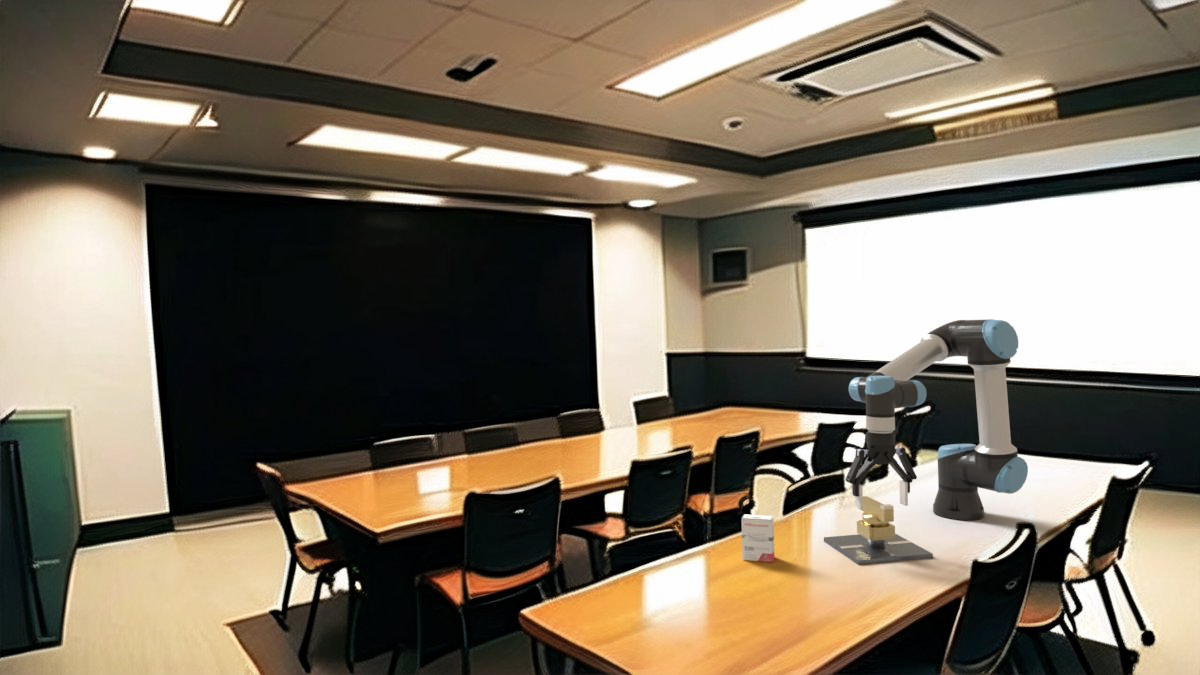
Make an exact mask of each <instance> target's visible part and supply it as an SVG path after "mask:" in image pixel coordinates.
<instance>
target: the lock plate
mask: <svg viewBox="0 0 1200 675" xmlns="http://www.w3.org/2000/svg"><path fill="white" fill-rule="evenodd" d="M870 527H871V526H870ZM823 542H824V543H825V544H828V545H829V546H830V547H832V548H833V549H834V550H836V551H838V552H839V553H840V554H842V555H843V556H845V557H847V558H848V559H849V560H851V561H852V562H854V563H855V564H857V565H858V566H860V565H871V564H880V563H883V564H884V563H889V562H892V563H893V562H894V563H895V562H903V561H904V562H905V561H916V560H925V559H933V558H934V553H933V552H930V551H929V550H927V549H925V548H923V547H921V546H919V545H918V544H916V543H913V541H910V540H908V539H906V538H904V537H903V536H900V534H897V533H895V538H893V539H887V540H875V541H874V540H868V539H866V538H865V537H863V536H861V535H860V534H858V533H857V534H847V535H846V534H845V535H837V536H836V535H835V536H824V537H823Z"/></svg>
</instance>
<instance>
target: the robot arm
mask: <svg viewBox="0 0 1200 675" xmlns="http://www.w3.org/2000/svg"><path fill="white" fill-rule="evenodd" d="M1018 349H1019V338H1018V334H1017V330H1016V329H1015V328H1014V326H1012V325H1011V324H1010V323H1009V322H1008V321H1006V320H1003V319H1001V320H999V319H993V318H992V319H990V318H989V319H970V320H969V319H958V320H954V321H950V322H948V323H945V324H943V325H941V326H939V327H936V328H935V329H933V330H931V331H929V332H928V333H927V334H925V335H923V336H922V337H921V339H920V342H919V343H917V344H915V345H914V346H913V347H911V348H910V349H908V350H906V351H904V352H903V353H902V354H900V355H899V356H897V357H896V358H894V359H893V360H891V361H890V362H887V363H886V364H885V365H883V366H882V367H880V368H878V369H877V370H876V371H874V372H872V373H871V374H869V375H868V376H866V377H865V376H858V377H854V378H853V379H852V380H850V382H849V385H848V393H849V396H850V398H851V399H853V400H854V401H856V402H861V403H865V419H866V420H865V429H866V430H867V431H866V432H865V435H866V436H865V440H866V441H865V442H866V449H861V448H856V450H855V457H854V458H853V461H852V463H851V465H850V467H849V470H848V472H847V474H846V477H845V482H847V483H849V484H851V485H852V486H851V487H852V489H851V490H852V493H851V494H852V496H853V497H854V503H855V504H854V505H855V508H857V509H858V508H859V509H858V510H860V509H863V494H864V493H863V492H864V491H863V489H864V488H863V485H862V484H861V483H862V482H863V481H864V479H865V478H866V476H867V475H868V474H869V472H870V471H871V470H872V468H874V467H875V466H876V465H877V466H880V465H890V466H891V468H892V469H893V470H894V471H895V473H896V474H897V475H898V476H899V477H900V478H901V479H902V480H899V504H901V505H903V506H904V507H905V506H907V507H908V505H909V501H908V500H909V497H908V496H909V495H908V494H910V492H911V484H912V482H913V480H917V478H918V476H917V474H916V472H915V471H914V469H913V467H912V464H911V462H910V460H909V458H908V456H907V451H906V450H907V449H906V448H905V447H903V446H900V445H897V447H896V446H895V445H896V433H895V431H896V417H895V416H896V415H895V412H896V411H895V410H896V409H899V408H900V409H901V408H914V407H917V406H920V405H922V404H924V403H925V401H926V398H927V388H926V386H925V385H924V384H923V383H922V382H921V381H920V380H914V379H913V380H911V379H912V378H913V377H915V376H916V375H917V374H919V373H921V372H922V371H923V370H925V369H927V368H928V367H930V366H931V365H933V364H934V363H935V362H943V361H944V360H946V359H947V358H952V357H966V358H967V365H968V366H969V367H971V368H972V369H973V373H974V374H973V376H974V378H973V379H974V386H975V388H974V389H975V401H976V413H977V427H978V437H979V438H978V439H979V440H978V441H979V443H978V444H977V445H976V444H974V443H954V444H952V443H951V444H945V445H941V446H939V448H938V451H937V457H936V458H937V476H938V477H937V480H938V482H937V483H938V491H937V493H936V496H935V499H934V501H933V504H932V512H933V513H934V514H935V515H937V516H940V517H942V518H947V519H951V520H959V521H960V520H961V521H972V520H973V521H976V520H981V519H983V518H984V517H985V508H984V506H983V503H982V500H981V497H980V494H979V489H985V490H989V491H993V492H996V493H1000V494H1001V493H1003V494H1009V495H1011V494H1014V493H1017V492H1018V491H1020V490H1021V489H1022V487H1023V486H1024V484H1025V483H1026V480H1027V477H1028V472H1029V470H1028V469H1029V468H1028V463H1027V462H1026V460H1025V459H1024V458H1022V457H1021V456H1019V455H1018V448H1017V447H1016V446H1014V444H1012V439H1011V438H1012V437H1011V428H1010V427H1011V426H1010V414H1009V412H1010V411H1009V402H1008V401H1009V398H1008V386H1007V373H1006V367H1008V365H1009V364H1011V359H1012V358H1013V357H1015V355H1016V354H1017V352H1018ZM895 455H897V457H898V459H899V461H900V463H901V466H900V464H899V463H898V461H897V460H896V459H895V458H894V456H895ZM866 456H867V457H866ZM864 459H865V460H864ZM863 461H864V463H863ZM902 467H903V468H904V469H903V468H902ZM978 488H979V489H978Z"/></svg>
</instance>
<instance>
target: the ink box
mask: <svg viewBox="0 0 1200 675" xmlns="http://www.w3.org/2000/svg"><path fill="white" fill-rule="evenodd" d="M774 520H775V519H774V515H761V514H745V513H744V514H743V515H742V516H741V545H742V546H741V549H742V550H741V554H742V556H741V557H742V561H749V562H750V561H751V562H752V561H754V562H766V563H767V562H768V563H774V560H775V527H774V526H775V525H774V524H775V523H774Z"/></svg>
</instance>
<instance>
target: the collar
mask: <svg viewBox="0 0 1200 675" xmlns="http://www.w3.org/2000/svg"><path fill="white" fill-rule="evenodd" d="M857 509H858V510H860V511H862V514H861V515H862V519H860V520H856V533H857V535H858V534H860V535H861V536H863V537H865V538H866V539H868V540H874V541H875V540H887V539H893V538H895V534H896V525H894V524H892V523H890V522H894V521H895V520H894V519H895V516H894V514H895V513H894V512H895V511H894V505H891V504H888V503H887V504H886V503H885V504H884V503H882V502H880V501H878V500H875V499H873V498H871V497H869V496H867V495H865V496H863V509H859V508H857ZM870 526H871V527H870Z"/></svg>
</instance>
